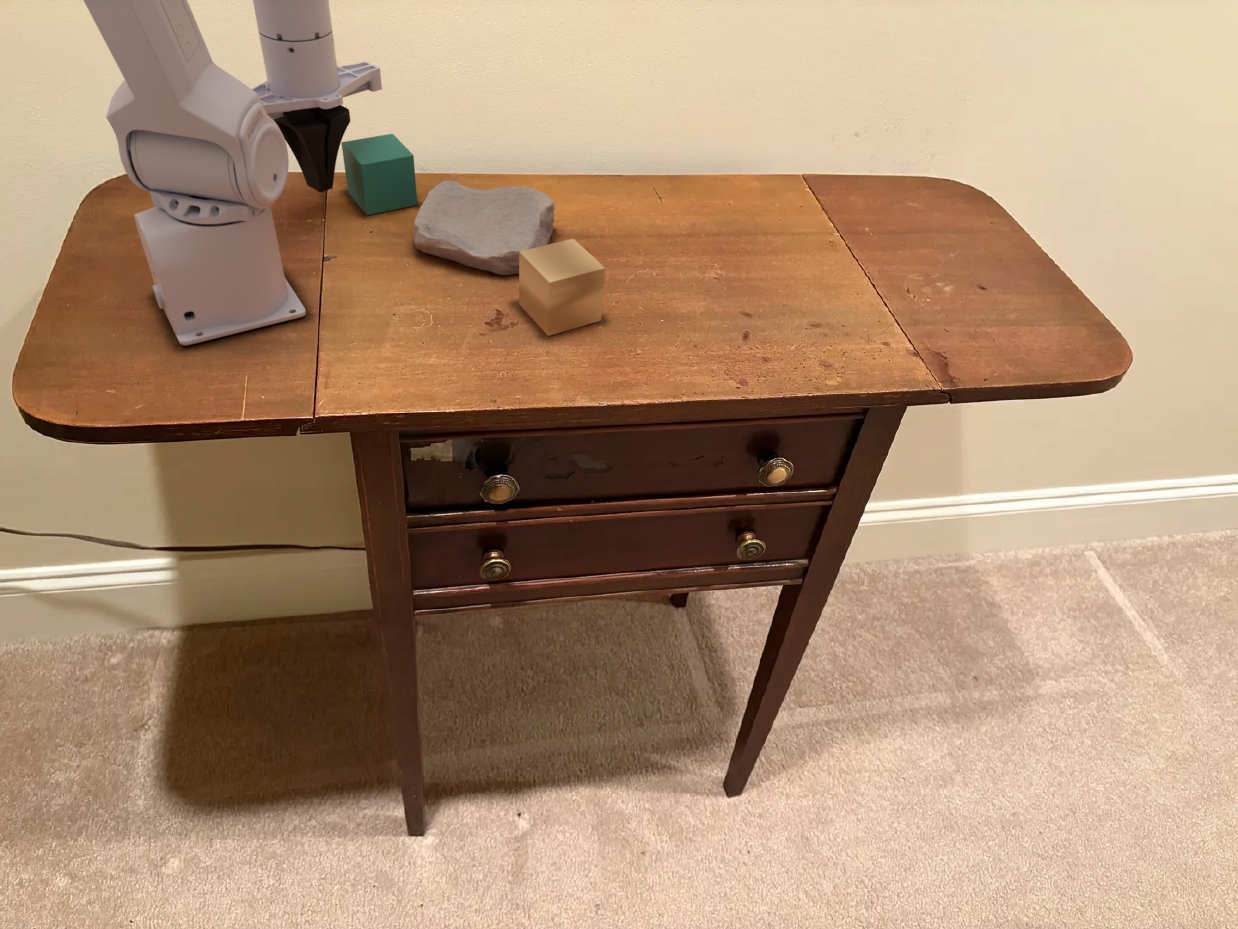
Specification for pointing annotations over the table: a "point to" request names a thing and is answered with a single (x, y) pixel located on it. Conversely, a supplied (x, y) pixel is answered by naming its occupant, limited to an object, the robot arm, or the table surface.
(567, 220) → the table surface
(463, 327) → the table surface
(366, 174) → the teal block
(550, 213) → the stone block
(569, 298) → the maple block
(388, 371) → the table surface
